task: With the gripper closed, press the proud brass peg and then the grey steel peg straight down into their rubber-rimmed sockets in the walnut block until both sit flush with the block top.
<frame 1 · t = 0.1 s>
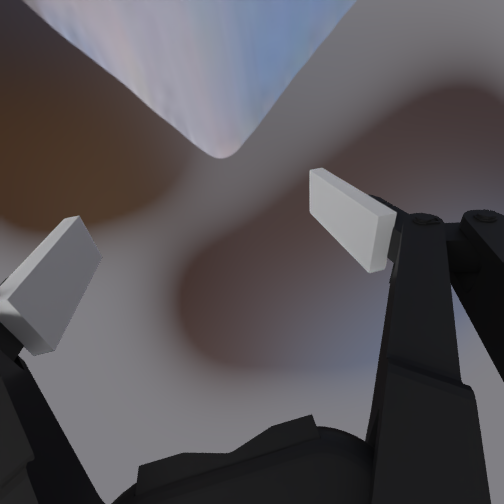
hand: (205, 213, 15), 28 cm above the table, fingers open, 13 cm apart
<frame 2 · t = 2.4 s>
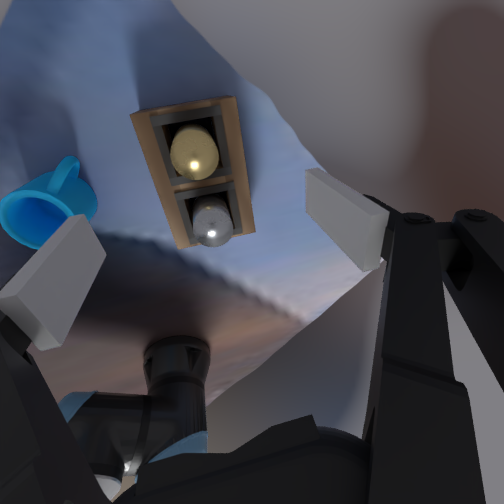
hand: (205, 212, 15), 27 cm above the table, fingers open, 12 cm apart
socket block: (200, 169, 39), on the table
steel peg: (211, 218, 35), point 9 cm above the table, slide at 5.0 cm
brass peg: (194, 150, 30), point 9 cm above the table, slide at 5.0 cm
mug: (70, 187, 37), on the table
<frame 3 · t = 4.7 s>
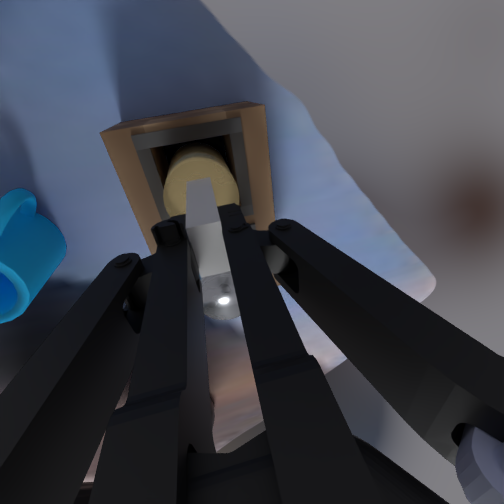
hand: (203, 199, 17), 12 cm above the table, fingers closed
socket block: (207, 199, 29), on the table
steel peg: (223, 275, 25), point 9 cm above the table, slide at 5.0 cm
brass peg: (200, 184, 20), point 8 cm above the table, slide at 4.7 cm, touching gripper
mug: (27, 226, 27), on the table
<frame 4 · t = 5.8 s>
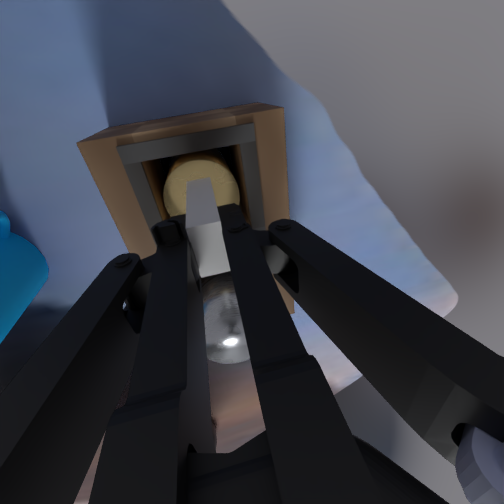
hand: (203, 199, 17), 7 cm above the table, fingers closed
socket block: (210, 215, 25), on the table
steel peg: (229, 307, 21), point 9 cm above the table, slide at 5.0 cm
brass peg: (200, 183, 20), point 4 cm above the table, slide at 0.2 cm, touching gripper
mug: (2, 247, 23), on the table
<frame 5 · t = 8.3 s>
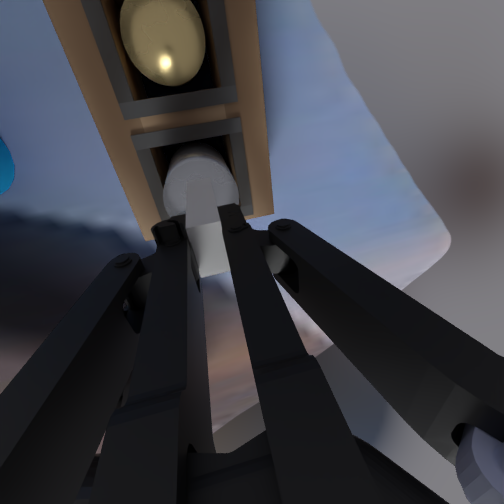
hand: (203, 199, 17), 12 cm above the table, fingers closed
socket block: (185, 111, 24), on the table
steel peg: (200, 184, 20), point 8 cm above the table, slide at 4.7 cm, touching gripper
brass peg: (168, 45, 19), point 4 cm above the table, slide at 0.2 cm
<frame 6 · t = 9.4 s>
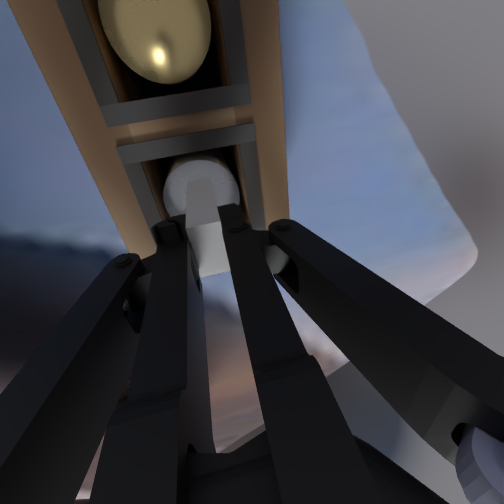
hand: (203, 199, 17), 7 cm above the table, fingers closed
socket block: (185, 114, 20), on the table
steel peg: (200, 183, 20), point 4 cm above the table, slide at 0.2 cm, touching gripper
brass peg: (163, 33, 15), point 4 cm above the table, slide at 0.2 cm
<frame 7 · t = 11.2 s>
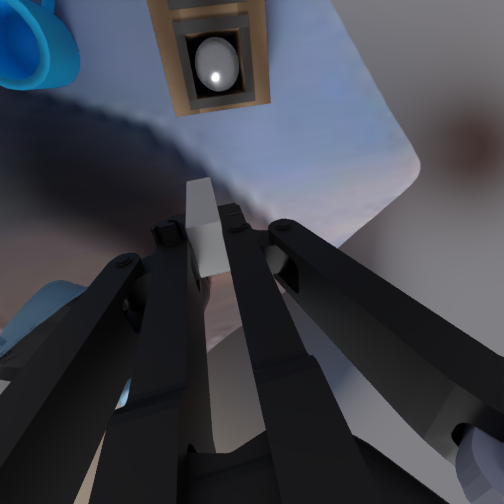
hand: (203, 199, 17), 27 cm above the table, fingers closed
socket block: (206, 23, 32), on the table
steel peg: (215, 66, 32), point 4 cm above the table, slide at 0.2 cm
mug: (46, 31, 30), on the table
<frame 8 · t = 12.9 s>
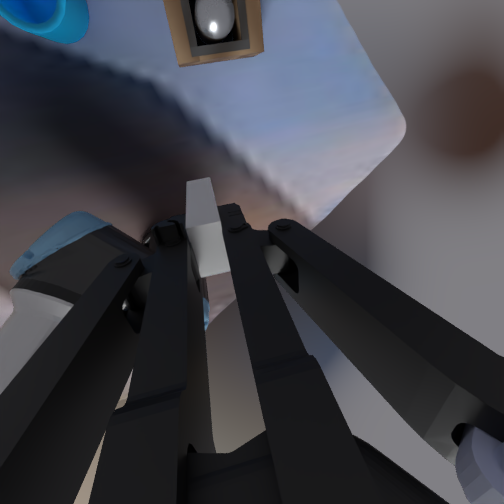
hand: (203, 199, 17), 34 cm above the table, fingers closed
steel peg: (213, 19, 35), point 4 cm above the table, slide at 0.2 cm
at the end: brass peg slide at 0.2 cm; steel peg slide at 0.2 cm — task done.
